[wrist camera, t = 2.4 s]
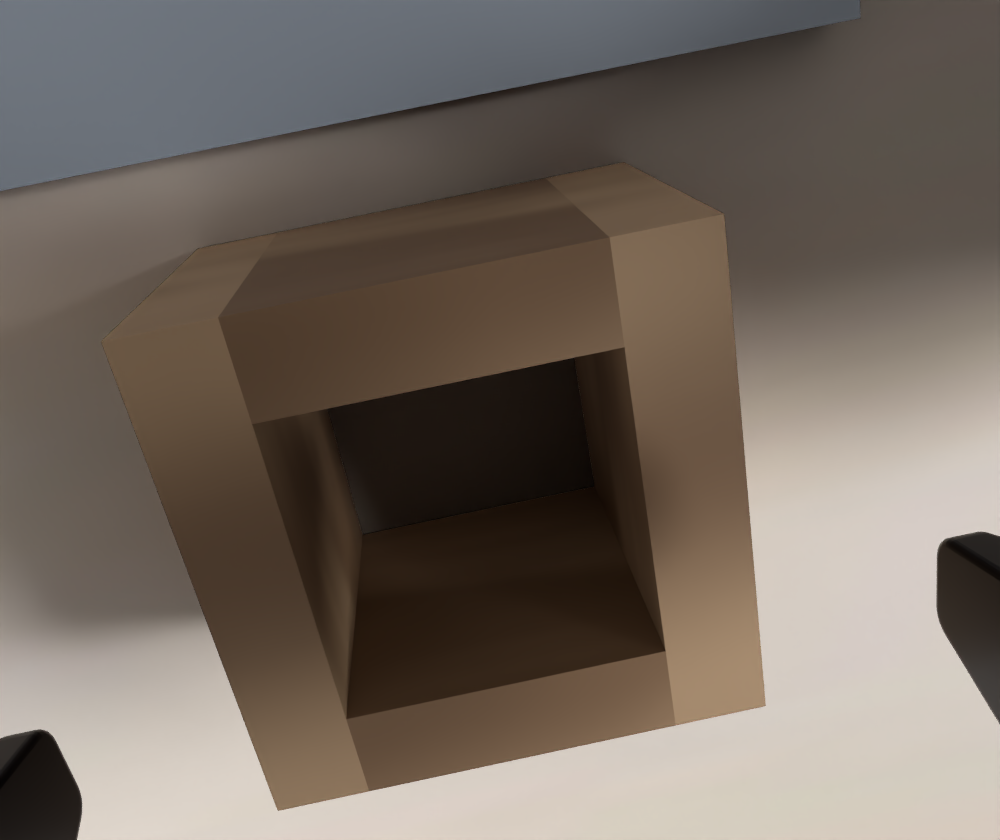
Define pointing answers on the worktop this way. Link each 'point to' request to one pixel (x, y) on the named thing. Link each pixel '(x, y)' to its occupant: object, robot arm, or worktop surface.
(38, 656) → the worktop surface
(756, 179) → the worktop surface
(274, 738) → the sleeve
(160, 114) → the grey base plate
